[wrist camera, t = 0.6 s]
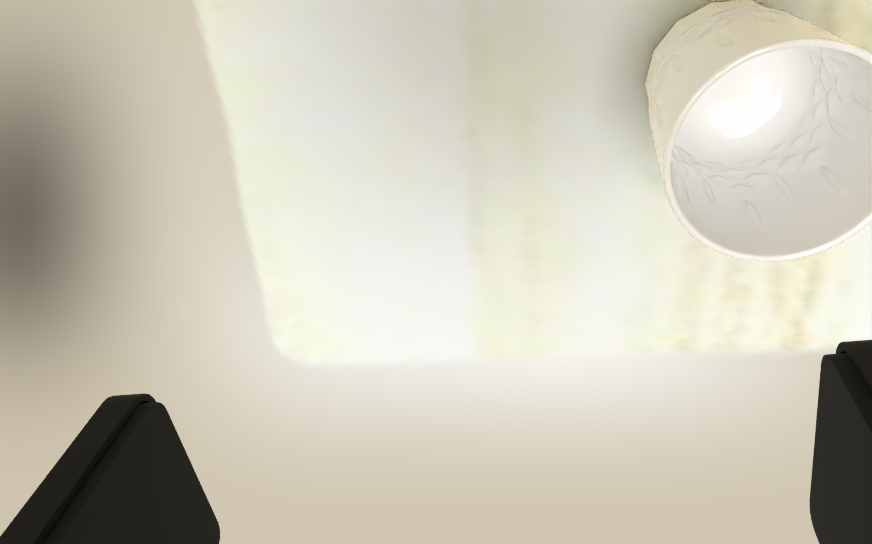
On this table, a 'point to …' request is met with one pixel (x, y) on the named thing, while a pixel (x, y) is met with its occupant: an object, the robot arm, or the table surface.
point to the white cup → (762, 131)
